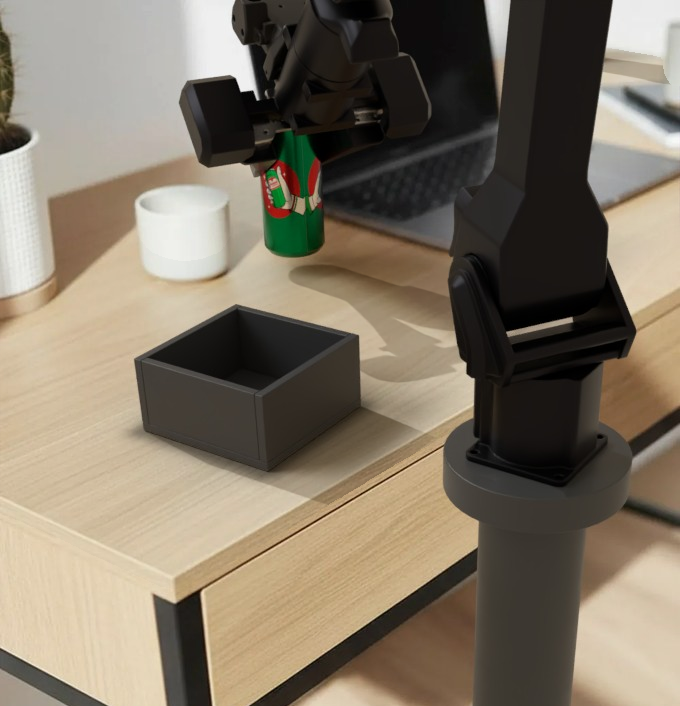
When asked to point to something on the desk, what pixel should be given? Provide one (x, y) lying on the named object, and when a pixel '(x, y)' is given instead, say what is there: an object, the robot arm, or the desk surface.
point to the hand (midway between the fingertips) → (283, 167)
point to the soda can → (294, 197)
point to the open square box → (249, 385)
